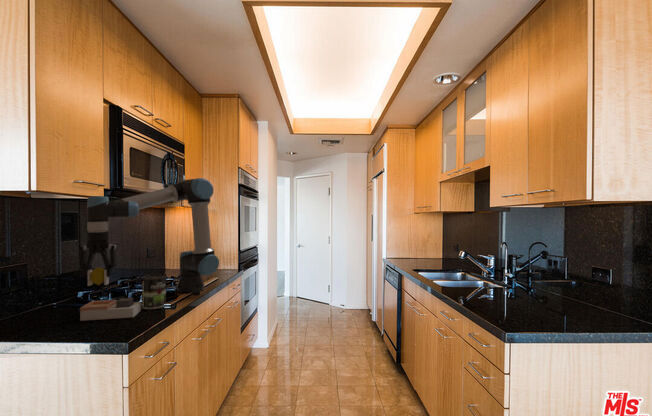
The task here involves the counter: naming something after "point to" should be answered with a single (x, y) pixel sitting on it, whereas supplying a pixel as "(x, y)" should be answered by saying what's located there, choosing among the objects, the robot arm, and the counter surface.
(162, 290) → the coffee can
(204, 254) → the robot arm
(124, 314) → the box
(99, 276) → the lemon
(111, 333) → the counter surface
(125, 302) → the breaker button
